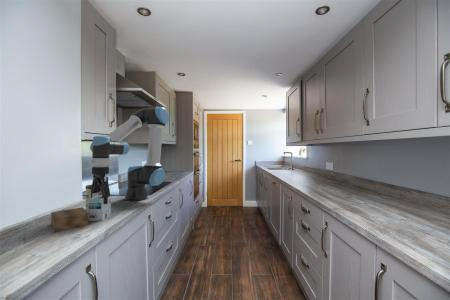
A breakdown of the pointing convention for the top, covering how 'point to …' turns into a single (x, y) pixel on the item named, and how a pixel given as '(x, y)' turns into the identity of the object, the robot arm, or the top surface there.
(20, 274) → the top surface
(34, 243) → the top surface
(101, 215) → the light bulb box
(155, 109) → the robot arm
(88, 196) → the coffee can
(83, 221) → the block
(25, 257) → the top surface
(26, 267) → the top surface
